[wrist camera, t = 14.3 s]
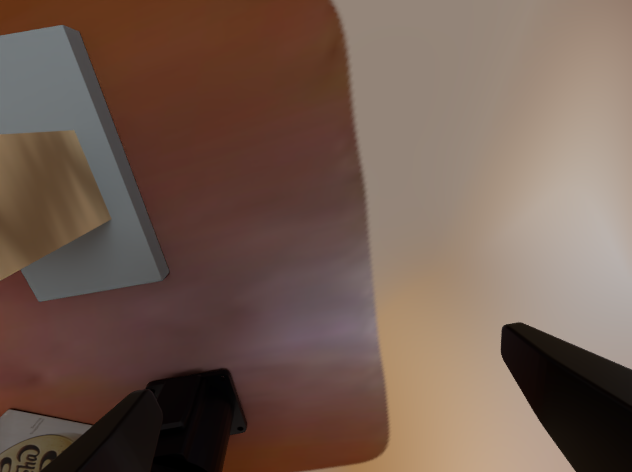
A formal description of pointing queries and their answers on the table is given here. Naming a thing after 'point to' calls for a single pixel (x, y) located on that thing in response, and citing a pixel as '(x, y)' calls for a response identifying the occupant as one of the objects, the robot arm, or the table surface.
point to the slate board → (102, 156)
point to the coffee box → (34, 440)
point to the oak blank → (44, 196)
